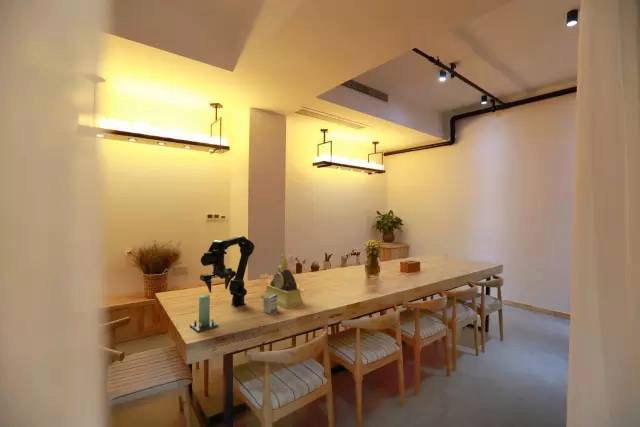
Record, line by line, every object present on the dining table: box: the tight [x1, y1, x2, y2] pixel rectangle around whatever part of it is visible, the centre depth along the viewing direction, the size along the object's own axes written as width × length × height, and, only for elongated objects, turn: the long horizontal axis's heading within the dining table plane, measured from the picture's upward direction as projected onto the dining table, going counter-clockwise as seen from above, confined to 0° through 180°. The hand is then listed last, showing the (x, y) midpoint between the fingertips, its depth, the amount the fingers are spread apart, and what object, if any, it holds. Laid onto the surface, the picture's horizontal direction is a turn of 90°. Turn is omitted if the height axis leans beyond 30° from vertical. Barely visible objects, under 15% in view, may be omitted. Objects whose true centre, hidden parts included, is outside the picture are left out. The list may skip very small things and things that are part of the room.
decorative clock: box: [260, 254, 304, 310], centre depth 180 cm, size 28×13×30 cm, turn 44°
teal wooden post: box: [198, 294, 211, 327], centre depth 139 cm, size 5×5×14 cm
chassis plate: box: [189, 318, 219, 334], centre depth 139 cm, size 10×10×4 cm
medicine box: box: [263, 294, 278, 314], centre depth 162 cm, size 8×4×9 cm, turn 158°
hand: (218, 290), depth 156 cm, fingers open, 9 cm apart
